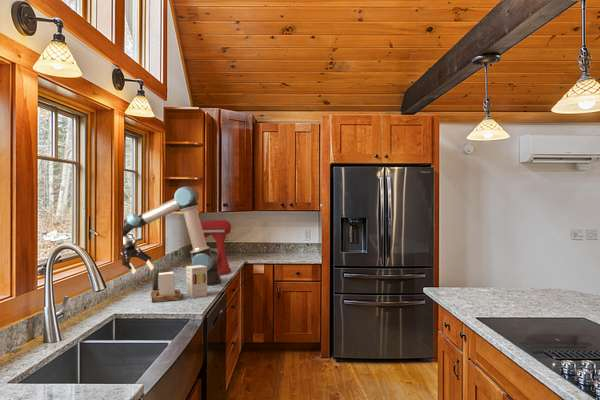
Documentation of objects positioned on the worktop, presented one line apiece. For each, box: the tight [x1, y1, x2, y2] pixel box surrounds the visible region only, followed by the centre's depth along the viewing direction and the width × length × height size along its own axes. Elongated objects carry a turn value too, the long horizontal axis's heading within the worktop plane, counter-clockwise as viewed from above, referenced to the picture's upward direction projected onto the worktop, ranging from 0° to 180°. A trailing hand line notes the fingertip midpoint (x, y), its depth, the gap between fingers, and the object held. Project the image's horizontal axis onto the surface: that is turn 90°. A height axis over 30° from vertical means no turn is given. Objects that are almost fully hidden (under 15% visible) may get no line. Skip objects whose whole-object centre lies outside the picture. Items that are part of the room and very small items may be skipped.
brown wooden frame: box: [150, 270, 182, 303], centre depth 228 cm, size 16×25×13 cm, turn 18°
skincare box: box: [158, 271, 176, 296], centre depth 221 cm, size 8×6×15 cm
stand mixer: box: [189, 219, 232, 276], centre depth 299 cm, size 24×32×40 cm
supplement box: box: [185, 265, 208, 299], centre depth 229 cm, size 10×9×17 cm
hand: (144, 270), depth 240 cm, fingers open, 13 cm apart
